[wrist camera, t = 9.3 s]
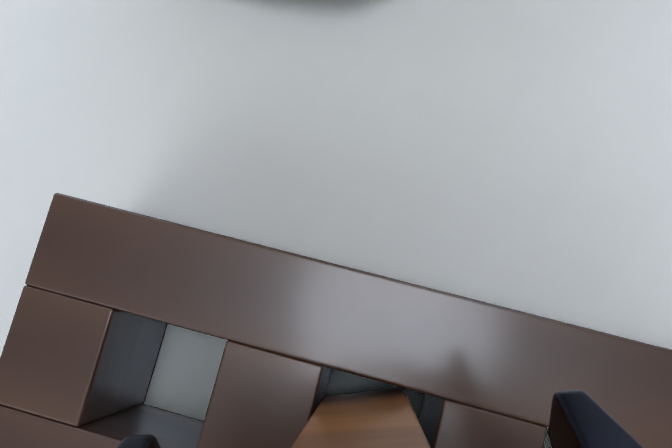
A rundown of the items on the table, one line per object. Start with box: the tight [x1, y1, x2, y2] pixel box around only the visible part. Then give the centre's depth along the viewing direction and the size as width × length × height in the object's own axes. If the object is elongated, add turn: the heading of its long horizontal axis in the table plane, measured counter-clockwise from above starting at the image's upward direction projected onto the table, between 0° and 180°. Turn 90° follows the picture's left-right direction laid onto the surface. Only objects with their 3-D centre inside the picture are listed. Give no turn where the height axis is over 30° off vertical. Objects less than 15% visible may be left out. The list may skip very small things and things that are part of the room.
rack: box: [0, 193, 672, 448], centre depth 17 cm, size 8×19×4 cm, turn 75°
